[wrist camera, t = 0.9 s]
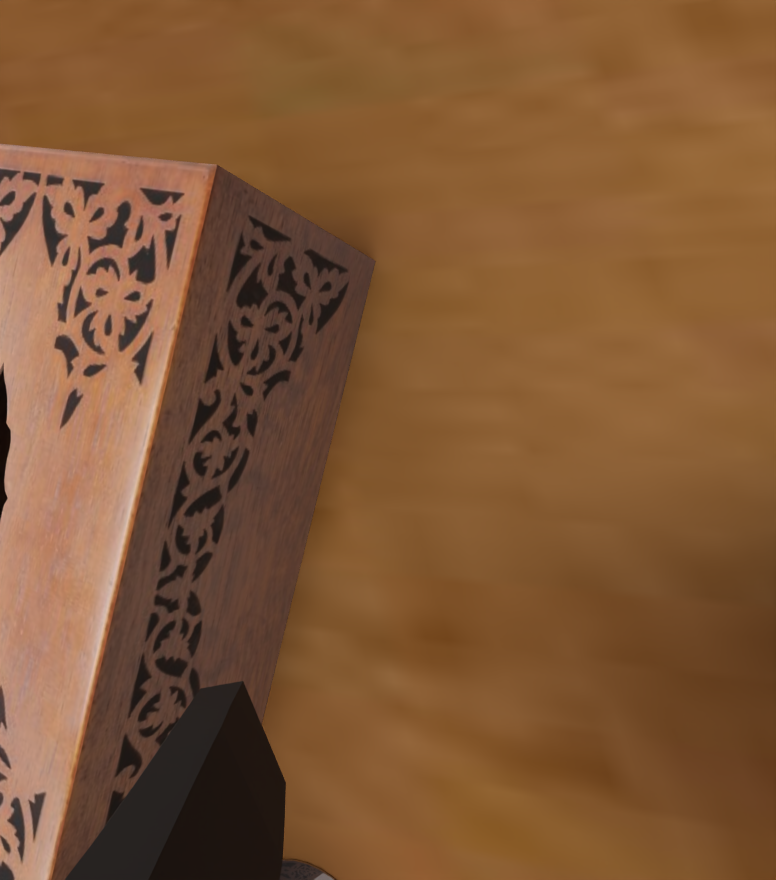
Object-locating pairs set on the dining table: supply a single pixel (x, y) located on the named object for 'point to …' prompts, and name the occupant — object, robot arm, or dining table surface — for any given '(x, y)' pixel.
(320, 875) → the wine glass
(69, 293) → the tissue box cover
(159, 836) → the robot arm
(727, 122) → the dining table surface
